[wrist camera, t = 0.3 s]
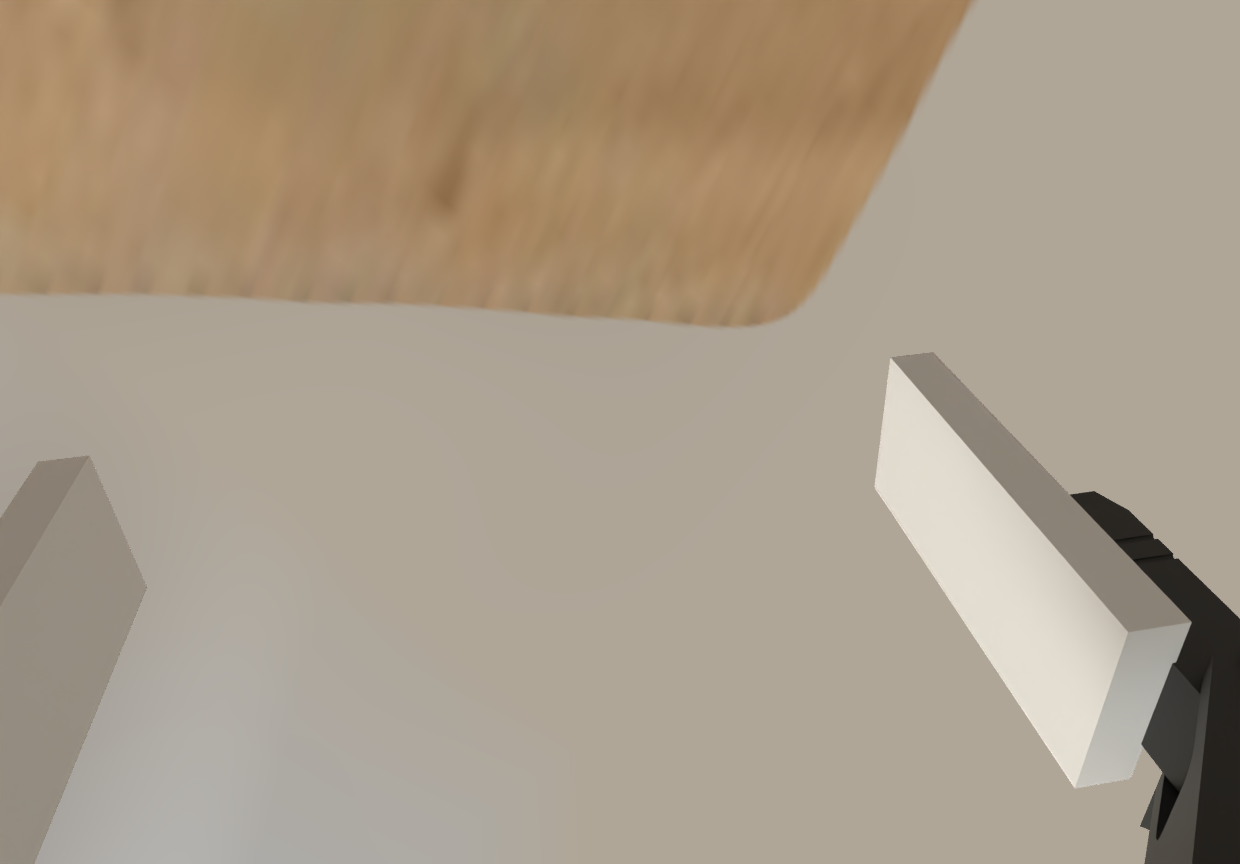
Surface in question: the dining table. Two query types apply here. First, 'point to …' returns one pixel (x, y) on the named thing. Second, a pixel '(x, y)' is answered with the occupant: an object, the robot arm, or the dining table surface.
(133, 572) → the robot arm
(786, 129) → the dining table surface
